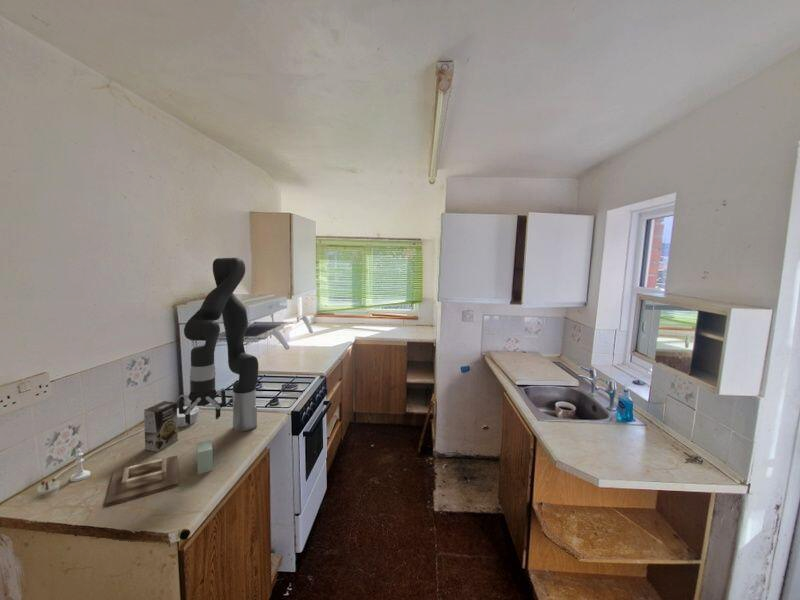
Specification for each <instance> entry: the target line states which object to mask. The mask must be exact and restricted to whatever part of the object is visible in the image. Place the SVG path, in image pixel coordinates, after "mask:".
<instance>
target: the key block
mask: <svg viewBox="0 0 800 600" xmlns="http://www.w3.org/2000/svg"><path fill="white" fill-rule="evenodd" d="M195 444H196V468H197V475H202V474H204V473H205V474H206V473H208V472H212V471H214V461H213V459H214V458H213V457H214V456H213V454H214V453H213V444H212V441H211V439H209V440H204V441H200V442H196V443H195Z"/></svg>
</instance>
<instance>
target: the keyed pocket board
mask: <svg viewBox="0 0 800 600" xmlns="http://www.w3.org/2000/svg"><path fill="white" fill-rule="evenodd" d="M178 460H179V457H178V455H177V454H176V455H173V456H168V457H164V458H159V459H156V460H152V461H147V462H143V463H138V464H135V465H131V466H126V467H123V468H118V469H115V470H113V475H112V478H111V481H110V486H109V488H108V489H109V490H108V492H107V496H106V500H105V507H107V506H111V505H115V504H118V503H122V502H125V501H128V500H132V499H136V498H139V497H144V496H147V495H150V494H154V493H156V492H157V493H158V492H161V491H164V490H169V489H171V488H175V487H178V486H179V461H178Z"/></svg>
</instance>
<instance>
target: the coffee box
mask: <svg viewBox="0 0 800 600" xmlns="http://www.w3.org/2000/svg"><path fill="white" fill-rule="evenodd" d="M177 408H178V402H174V401H165V400H164V401H162V402H159V403H156V404H155V405H153V406H150V407H148V408H145V409H144V410H143V417H144V418H143V420H144V423H143V424H144V448H145V450H148V451H152V452H157V453H158V452H160V451H162V450H164V449H165V448H166V447H169V446H170V445H172V444H173V443H174V444H175V442H178V440H179V433H178V428H179V427H178V426H177Z"/></svg>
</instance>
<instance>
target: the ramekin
mask: <svg viewBox="0 0 800 600" xmlns="http://www.w3.org/2000/svg"><path fill="white" fill-rule="evenodd" d="M188 406H189V405H185V406H183V409H186V408H187V407H188ZM199 413H200V408H199V406H195V407H194V409H192V411H191V412H190V424H189V425H188V423H186V422H185V414H179V407H177V426H178V428H182V427H188V426H190V425H193V424H194V423H196V422H197V420H198V418H199V417H198V416H199Z"/></svg>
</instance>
